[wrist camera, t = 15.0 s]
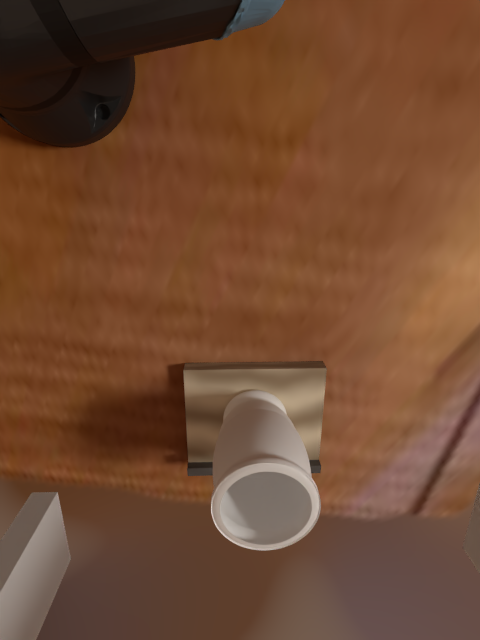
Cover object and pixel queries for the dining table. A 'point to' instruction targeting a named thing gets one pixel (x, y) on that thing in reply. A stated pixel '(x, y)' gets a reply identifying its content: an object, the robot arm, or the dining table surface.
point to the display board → (235, 378)
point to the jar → (262, 476)
